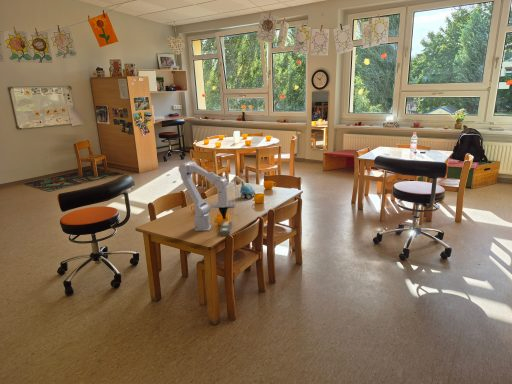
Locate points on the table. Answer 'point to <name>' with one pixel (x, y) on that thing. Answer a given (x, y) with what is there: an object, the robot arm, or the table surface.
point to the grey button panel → (226, 231)
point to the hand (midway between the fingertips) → (224, 218)
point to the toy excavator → (245, 189)
